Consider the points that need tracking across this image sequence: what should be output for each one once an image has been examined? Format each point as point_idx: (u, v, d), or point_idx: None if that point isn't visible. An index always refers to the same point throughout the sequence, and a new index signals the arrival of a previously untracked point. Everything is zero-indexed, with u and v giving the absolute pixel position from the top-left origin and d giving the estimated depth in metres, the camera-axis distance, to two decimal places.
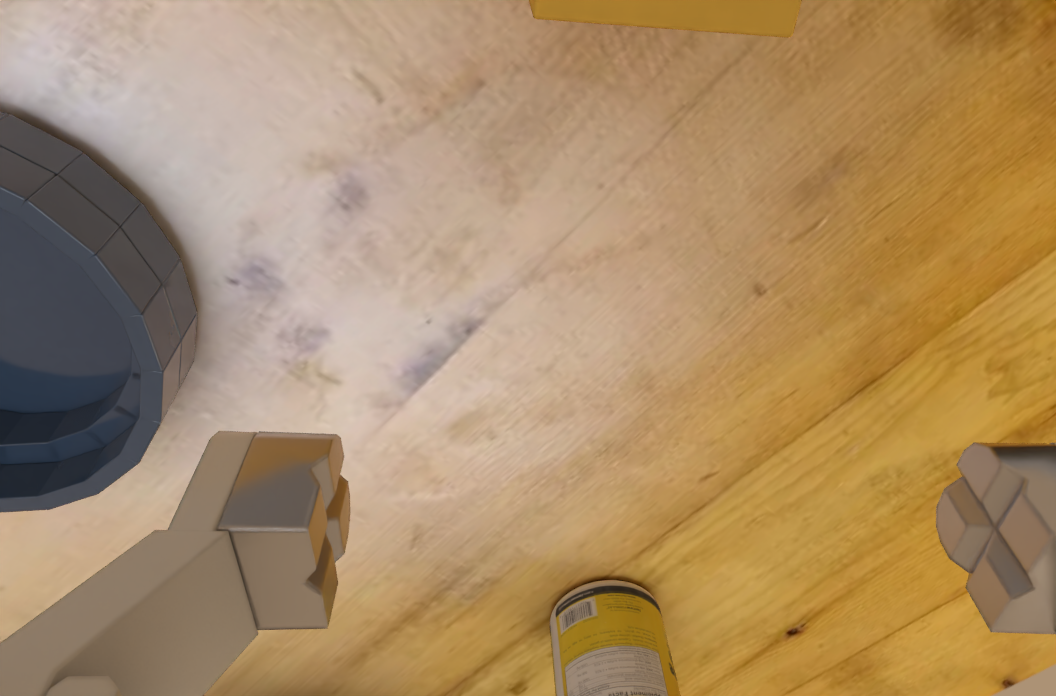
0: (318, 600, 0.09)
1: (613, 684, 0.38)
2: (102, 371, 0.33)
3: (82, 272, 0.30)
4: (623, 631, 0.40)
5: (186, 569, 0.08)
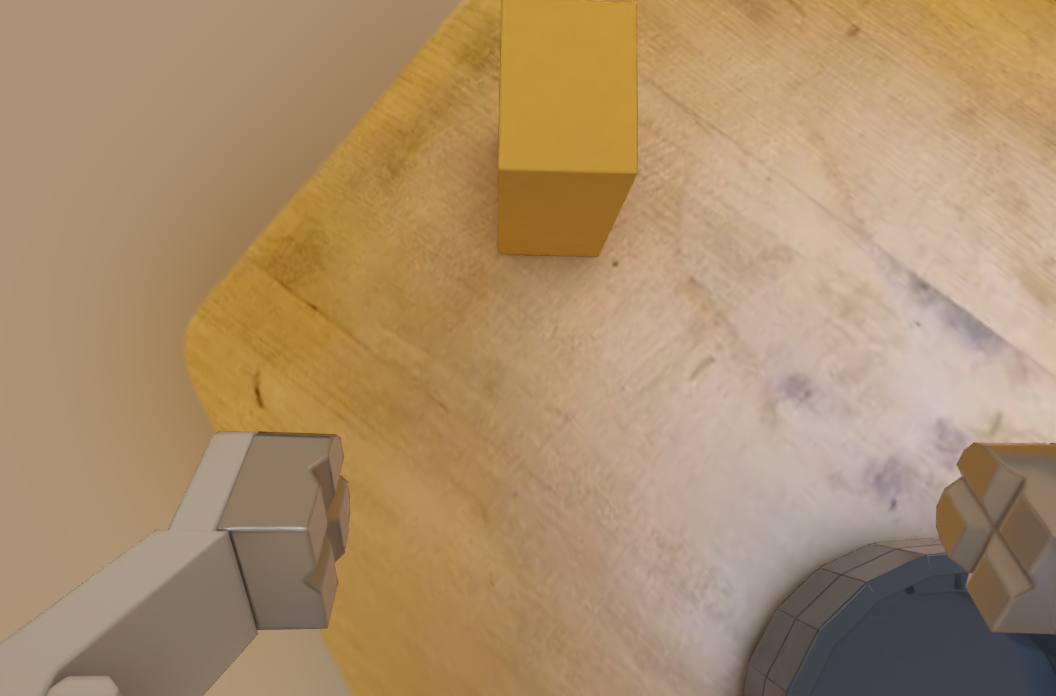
0: (318, 600, 0.09)
1: None
2: (1010, 648, 0.32)
3: (896, 639, 0.32)
4: None
5: (185, 569, 0.08)
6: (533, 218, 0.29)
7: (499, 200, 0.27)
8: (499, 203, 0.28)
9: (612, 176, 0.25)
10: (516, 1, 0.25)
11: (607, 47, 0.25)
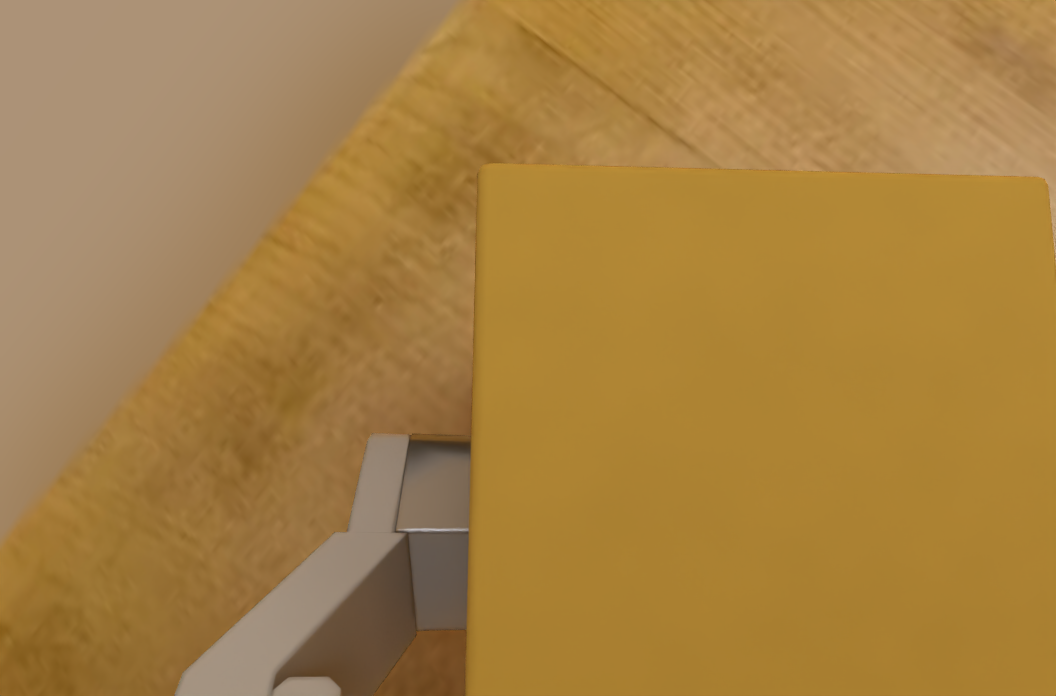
0: None
1: None
2: None
3: None
4: None
5: (374, 571, 0.08)
6: None
7: None
8: None
9: None
10: (541, 183, 0.06)
11: (943, 388, 0.06)
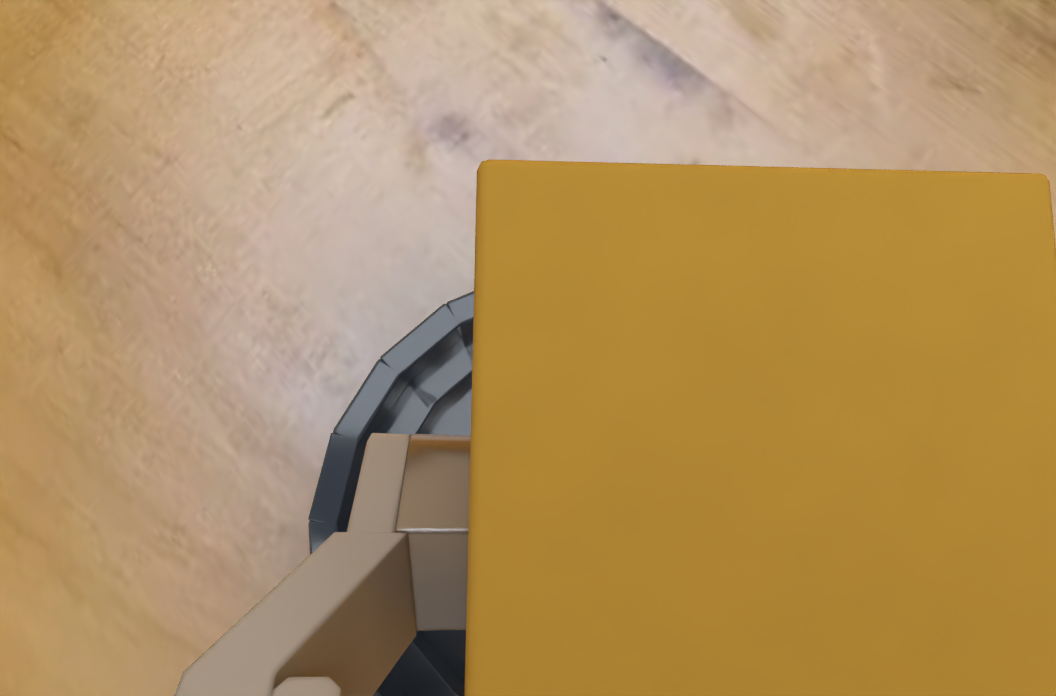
0: None
1: None
2: None
3: None
4: None
5: (375, 571, 0.08)
6: None
7: None
8: None
9: None
10: (541, 179, 0.06)
11: (943, 385, 0.06)
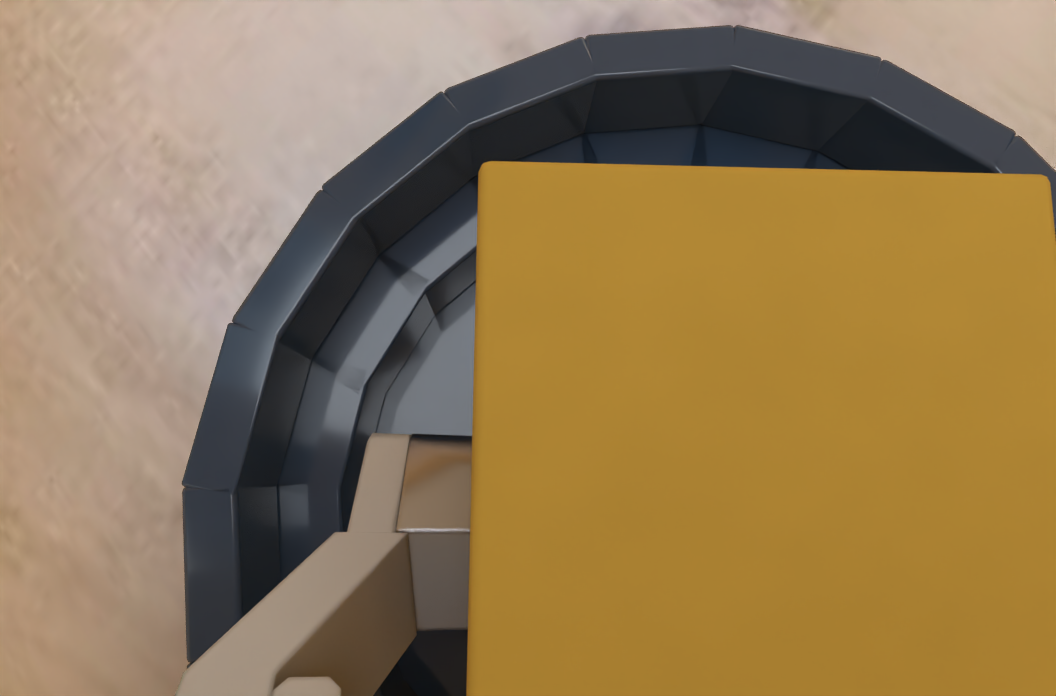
0: None
1: None
2: None
3: None
4: None
5: (375, 571, 0.08)
6: None
7: None
8: None
9: None
10: (543, 181, 0.06)
11: (943, 387, 0.06)
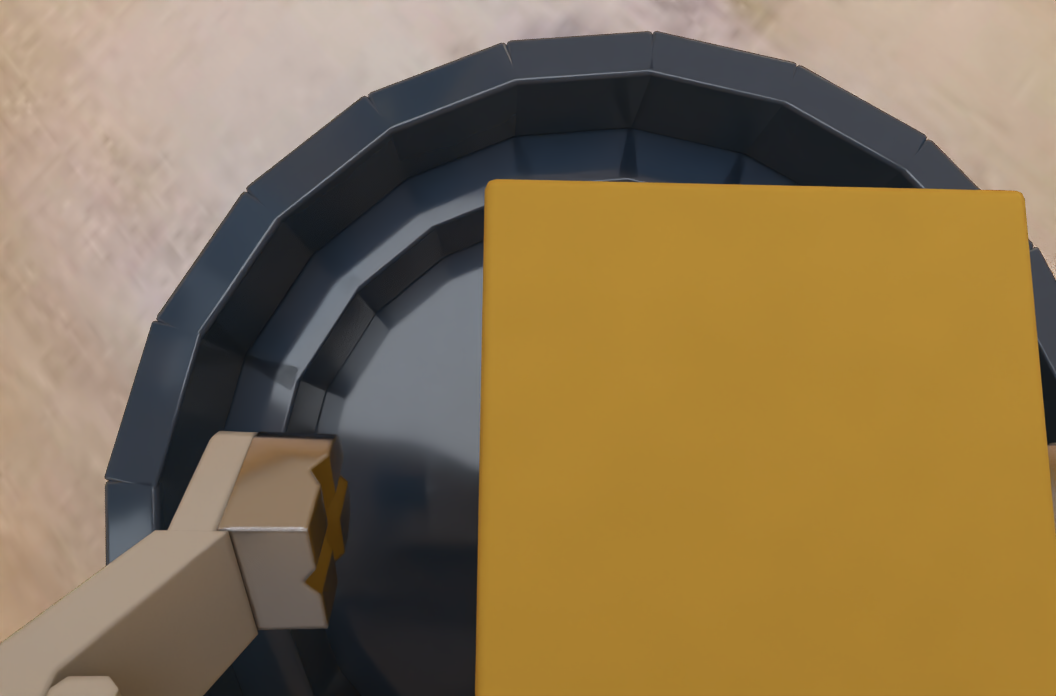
0: (318, 600, 0.09)
1: None
2: None
3: None
4: None
5: (186, 570, 0.08)
6: None
7: None
8: None
9: None
10: (546, 198, 0.06)
11: (924, 391, 0.06)
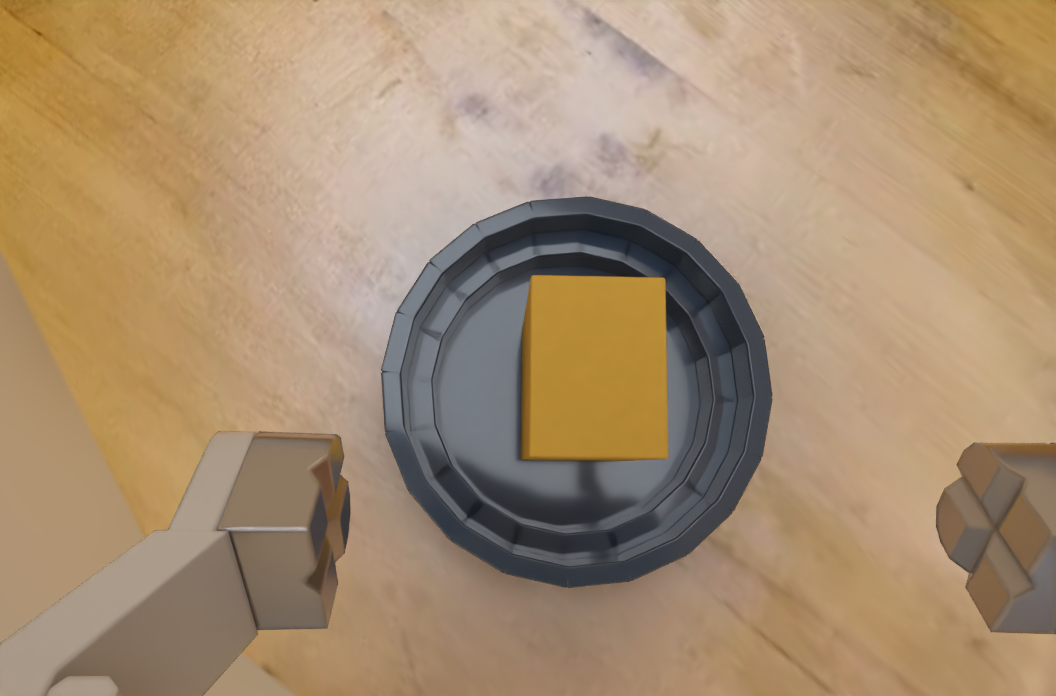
0: (318, 600, 0.09)
1: None
2: None
3: None
4: None
5: (185, 568, 0.08)
6: (559, 459, 0.29)
7: (527, 458, 0.27)
8: (527, 458, 0.28)
9: None
10: (545, 280, 0.25)
11: (636, 327, 0.25)
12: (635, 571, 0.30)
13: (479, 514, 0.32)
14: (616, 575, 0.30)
